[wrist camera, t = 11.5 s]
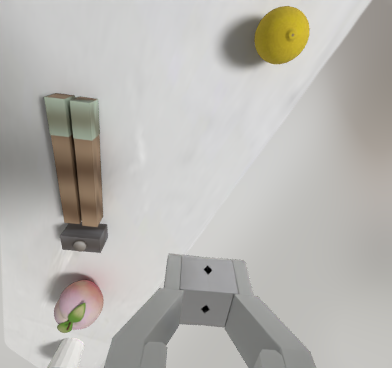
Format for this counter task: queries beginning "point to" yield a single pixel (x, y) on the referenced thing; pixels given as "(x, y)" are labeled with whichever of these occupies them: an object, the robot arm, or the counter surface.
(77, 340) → the shot glass
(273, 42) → the lemon
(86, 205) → the tongs arm
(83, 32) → the counter surface
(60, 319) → the decorative fruit
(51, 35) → the counter surface
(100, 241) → the tongs base
